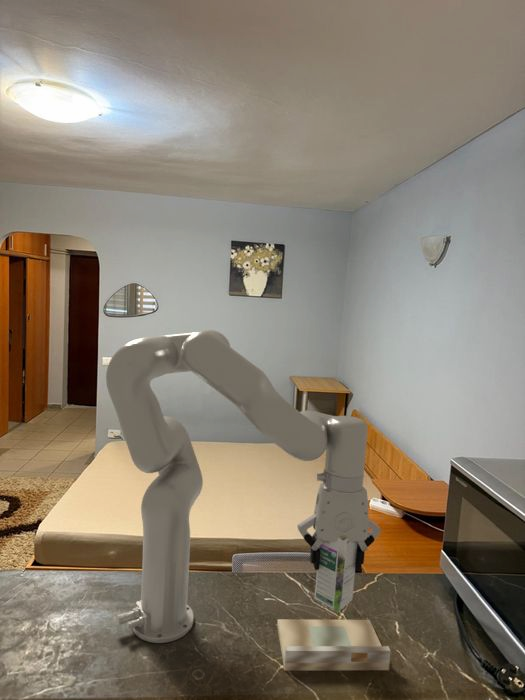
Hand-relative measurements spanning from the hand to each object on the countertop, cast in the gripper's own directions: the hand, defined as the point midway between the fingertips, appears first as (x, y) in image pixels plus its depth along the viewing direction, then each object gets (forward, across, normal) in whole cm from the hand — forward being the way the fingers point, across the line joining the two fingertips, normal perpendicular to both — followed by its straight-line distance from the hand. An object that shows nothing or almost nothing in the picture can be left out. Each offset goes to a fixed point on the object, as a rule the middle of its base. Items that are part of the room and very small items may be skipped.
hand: (336, 566), depth 90 cm
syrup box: (+7, 0, 0) cm, 7 cm away
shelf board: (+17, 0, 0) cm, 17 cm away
